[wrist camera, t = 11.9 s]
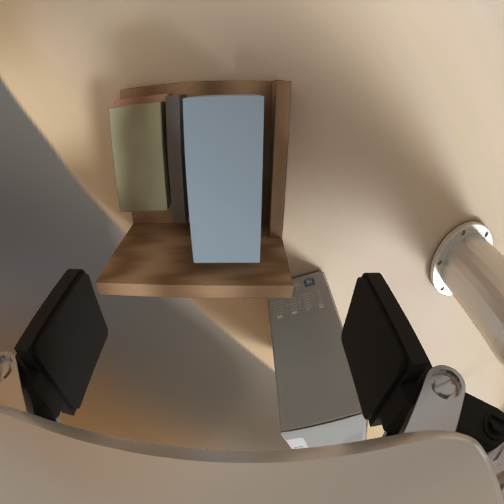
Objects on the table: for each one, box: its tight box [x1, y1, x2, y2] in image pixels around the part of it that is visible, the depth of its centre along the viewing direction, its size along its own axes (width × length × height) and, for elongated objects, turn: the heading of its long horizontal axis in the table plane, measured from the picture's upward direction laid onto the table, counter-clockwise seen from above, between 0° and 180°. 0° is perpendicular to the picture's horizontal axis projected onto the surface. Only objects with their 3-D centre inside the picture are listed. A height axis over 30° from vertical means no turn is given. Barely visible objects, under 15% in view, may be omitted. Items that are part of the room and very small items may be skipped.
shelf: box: [96, 80, 293, 298], centre depth 24 cm, size 16×16×12 cm
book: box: [183, 94, 264, 263], centre depth 24 cm, size 5×12×10 cm, turn 179°
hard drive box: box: [268, 271, 368, 449], centre depth 32 cm, size 16×8×20 cm, turn 17°
